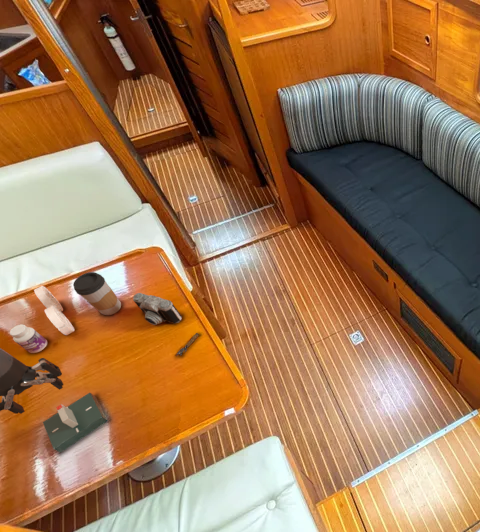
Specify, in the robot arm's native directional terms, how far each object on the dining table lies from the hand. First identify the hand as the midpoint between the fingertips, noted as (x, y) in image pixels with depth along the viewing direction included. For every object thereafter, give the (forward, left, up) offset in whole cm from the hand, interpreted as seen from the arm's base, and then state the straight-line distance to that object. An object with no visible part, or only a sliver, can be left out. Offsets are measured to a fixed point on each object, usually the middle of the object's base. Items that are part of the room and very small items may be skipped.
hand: (41, 398), depth 99 cm
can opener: (+33, +1, -16) cm, 36 cm away
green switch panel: (0, -1, -16) cm, 16 cm away
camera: (+31, +18, -16) cm, 39 cm away
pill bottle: (-1, +35, -16) cm, 39 cm away
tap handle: (0, -1, -13) cm, 13 cm away
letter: (+8, +41, -16) cm, 45 cm away
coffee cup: (+21, +34, -16) cm, 43 cm away
